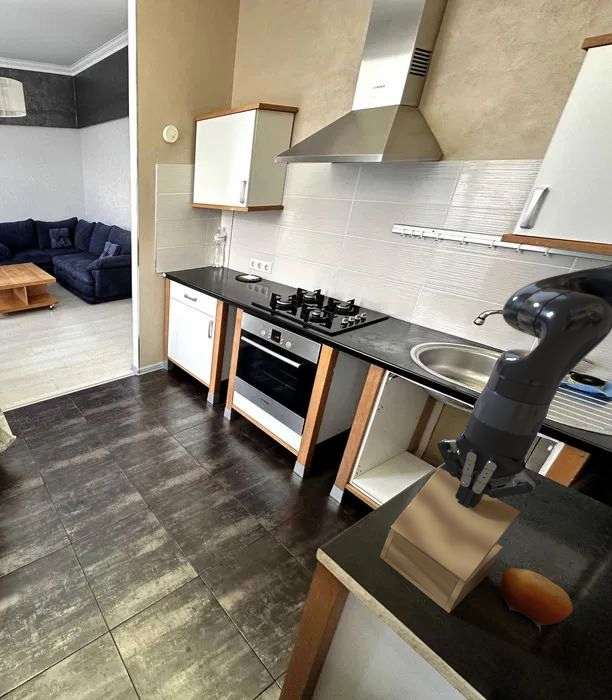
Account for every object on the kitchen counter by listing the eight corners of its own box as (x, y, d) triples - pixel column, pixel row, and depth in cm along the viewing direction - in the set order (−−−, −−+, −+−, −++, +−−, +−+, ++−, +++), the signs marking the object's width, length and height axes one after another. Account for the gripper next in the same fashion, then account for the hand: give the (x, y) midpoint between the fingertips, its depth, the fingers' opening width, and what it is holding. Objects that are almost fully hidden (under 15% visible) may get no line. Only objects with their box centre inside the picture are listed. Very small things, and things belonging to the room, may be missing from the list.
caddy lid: (439, 468, 69) (439, 467, 69) (519, 513, 60) (520, 511, 59) (391, 528, 68) (390, 527, 67) (465, 583, 59) (465, 582, 58)
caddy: (418, 527, 77) (429, 501, 74) (487, 575, 68) (503, 547, 65) (379, 557, 71) (390, 529, 68) (448, 613, 61) (464, 584, 58)
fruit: (494, 610, 61) (513, 564, 60) (489, 596, 67) (507, 555, 66) (565, 650, 55) (586, 601, 55) (553, 632, 61) (572, 587, 61)
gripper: (575, 434, 53) (524, 523, 60) (466, 392, 63) (433, 472, 70) (555, 451, 49) (503, 543, 56) (443, 404, 60) (411, 486, 67)
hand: (464, 503), depth 63 cm, fingers closed
